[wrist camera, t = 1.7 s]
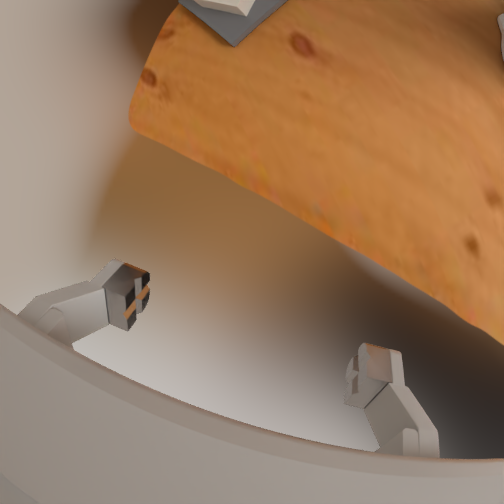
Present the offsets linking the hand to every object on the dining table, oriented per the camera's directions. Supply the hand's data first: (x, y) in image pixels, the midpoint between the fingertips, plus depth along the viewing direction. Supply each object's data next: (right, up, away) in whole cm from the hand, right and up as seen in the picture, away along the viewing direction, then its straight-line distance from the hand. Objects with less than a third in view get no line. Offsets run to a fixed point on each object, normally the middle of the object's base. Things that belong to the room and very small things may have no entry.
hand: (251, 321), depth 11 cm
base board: (-2, +42, +27) cm, 50 cm away
